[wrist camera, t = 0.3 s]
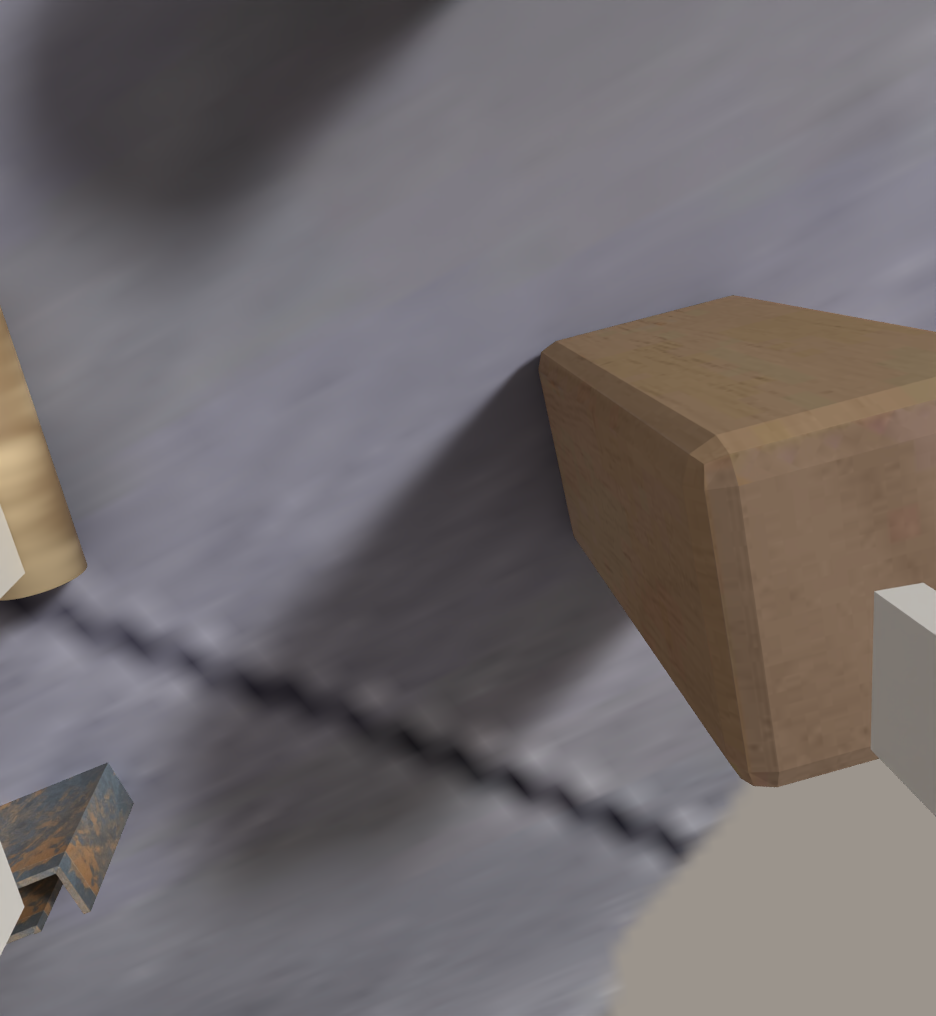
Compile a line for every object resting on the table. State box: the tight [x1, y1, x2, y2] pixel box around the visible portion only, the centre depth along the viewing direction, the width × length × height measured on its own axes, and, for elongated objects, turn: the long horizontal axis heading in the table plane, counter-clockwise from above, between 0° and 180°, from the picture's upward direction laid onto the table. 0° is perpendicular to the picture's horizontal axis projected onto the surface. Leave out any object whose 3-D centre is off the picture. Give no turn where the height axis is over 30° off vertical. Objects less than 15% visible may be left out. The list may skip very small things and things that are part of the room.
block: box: [538, 295, 936, 787], centre depth 31 cm, size 10×10×20 cm
